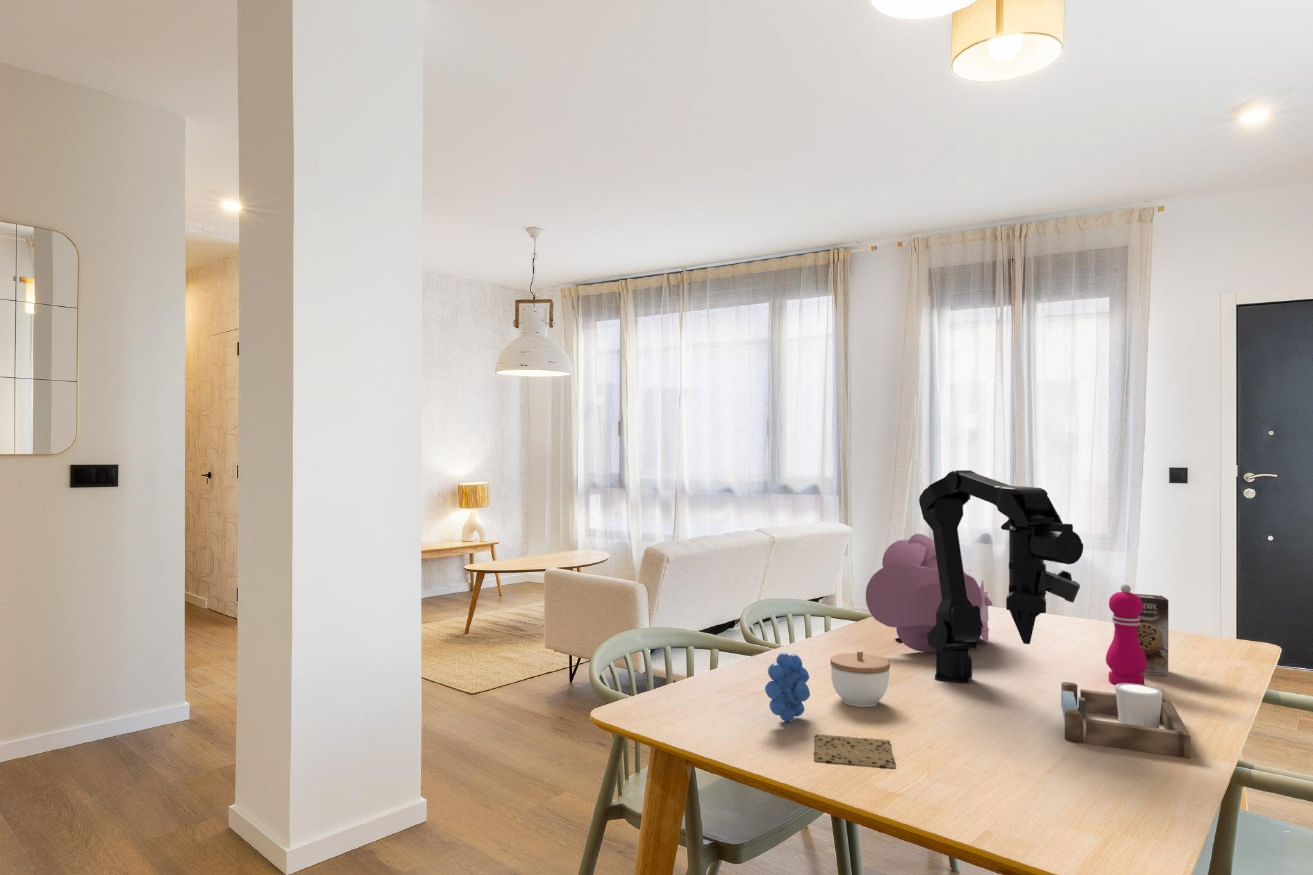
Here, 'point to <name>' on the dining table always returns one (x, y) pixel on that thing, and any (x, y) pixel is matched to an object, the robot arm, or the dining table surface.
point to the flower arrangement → (915, 592)
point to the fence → (1124, 726)
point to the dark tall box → (1154, 633)
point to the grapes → (787, 686)
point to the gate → (1068, 701)
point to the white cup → (1138, 704)
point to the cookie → (853, 751)
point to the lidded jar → (860, 678)
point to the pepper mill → (1126, 639)
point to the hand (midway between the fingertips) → (1026, 643)
